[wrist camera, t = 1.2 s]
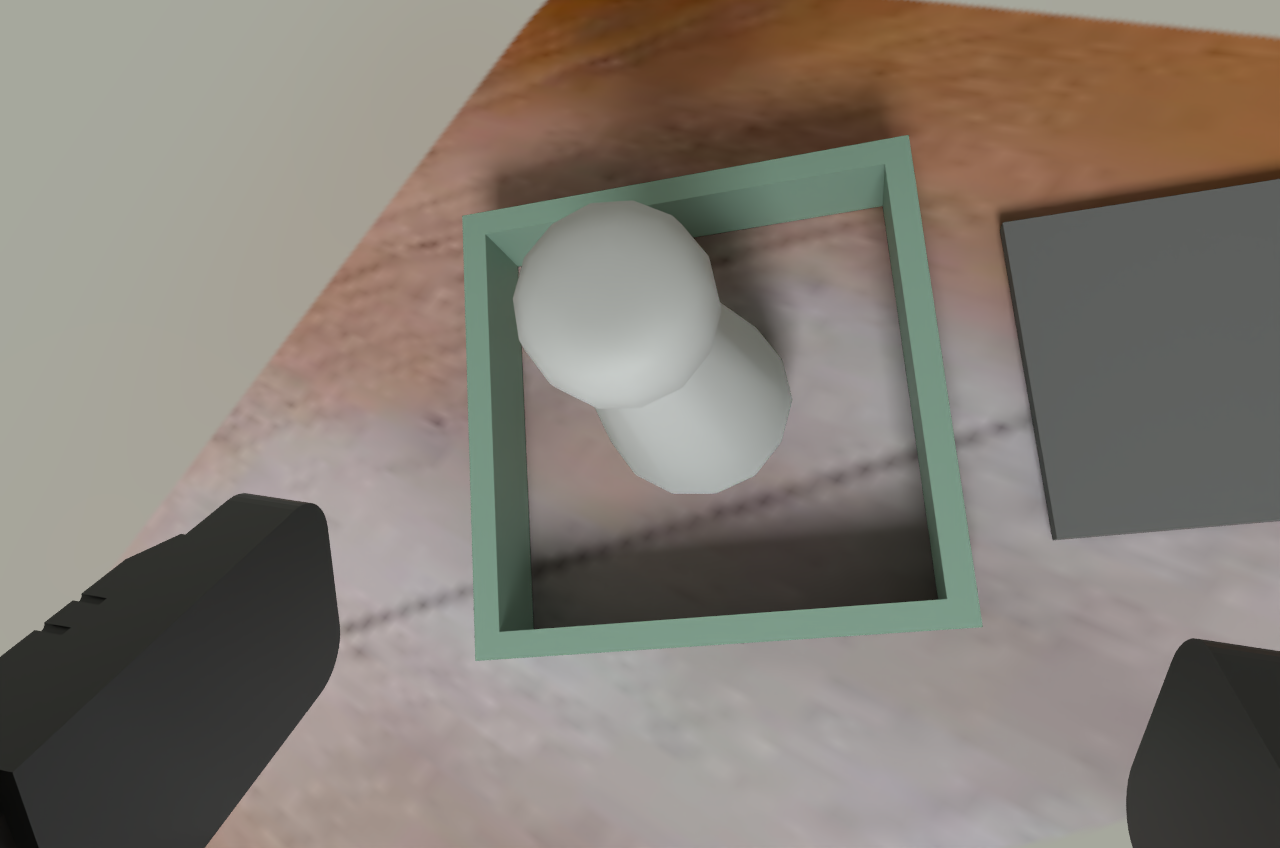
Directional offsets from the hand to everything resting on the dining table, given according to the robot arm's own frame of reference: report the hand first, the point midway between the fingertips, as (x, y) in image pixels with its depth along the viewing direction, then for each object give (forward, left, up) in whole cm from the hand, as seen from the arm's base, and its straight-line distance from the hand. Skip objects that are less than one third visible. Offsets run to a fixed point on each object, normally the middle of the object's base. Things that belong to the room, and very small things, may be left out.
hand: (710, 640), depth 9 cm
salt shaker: (+3, -7, -21) cm, 22 cm away
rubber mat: (-12, -7, -20) cm, 25 cm away
